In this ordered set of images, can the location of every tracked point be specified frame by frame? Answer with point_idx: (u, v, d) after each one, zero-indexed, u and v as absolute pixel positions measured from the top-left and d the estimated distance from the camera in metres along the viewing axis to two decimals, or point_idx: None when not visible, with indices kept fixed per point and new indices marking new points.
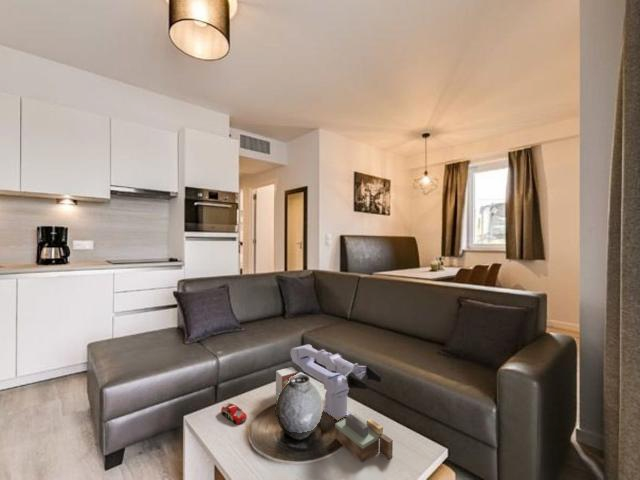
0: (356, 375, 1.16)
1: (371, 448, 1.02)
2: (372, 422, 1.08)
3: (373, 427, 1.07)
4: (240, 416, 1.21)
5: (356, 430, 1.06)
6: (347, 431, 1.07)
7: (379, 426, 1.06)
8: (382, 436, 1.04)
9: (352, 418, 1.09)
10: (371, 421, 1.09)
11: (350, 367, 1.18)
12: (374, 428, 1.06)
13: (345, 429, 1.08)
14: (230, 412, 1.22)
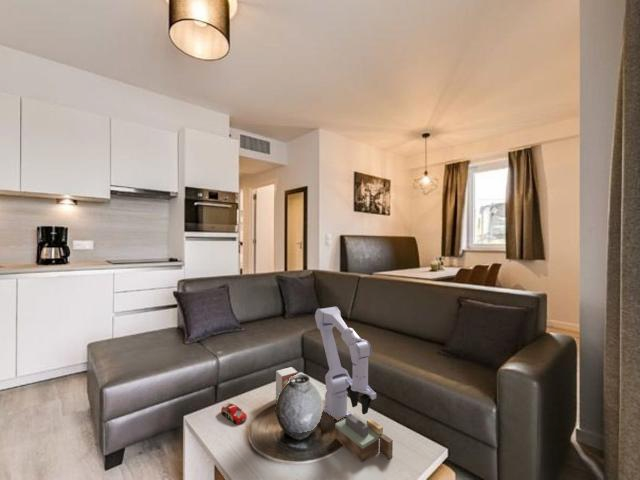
0: None
1: (371, 448, 1.02)
2: (372, 422, 1.08)
3: (373, 427, 1.07)
4: (240, 416, 1.20)
5: (356, 430, 1.06)
6: (347, 431, 1.07)
7: (379, 426, 1.06)
8: (382, 436, 1.04)
9: (352, 418, 1.09)
10: (371, 421, 1.09)
11: (352, 382, 1.13)
12: (374, 428, 1.06)
13: (345, 429, 1.08)
14: (230, 412, 1.22)
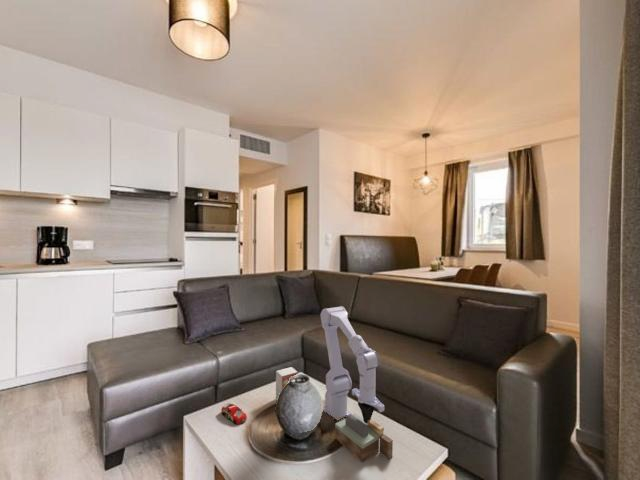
0: None
1: (371, 448, 1.02)
2: (373, 422, 1.08)
3: (374, 428, 1.07)
4: (241, 416, 1.20)
5: (356, 430, 1.06)
6: (347, 431, 1.07)
7: (380, 427, 1.06)
8: (382, 436, 1.04)
9: (352, 418, 1.09)
10: (371, 422, 1.08)
11: (359, 393, 1.10)
12: (375, 429, 1.06)
13: (345, 429, 1.08)
14: (230, 412, 1.22)
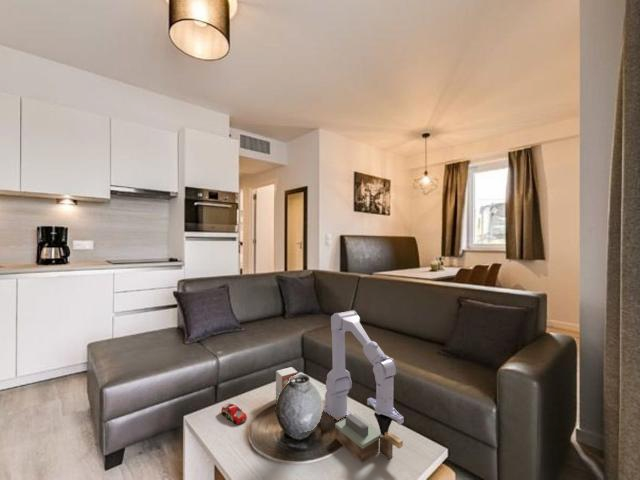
0: None
1: (371, 448, 1.02)
2: (391, 435, 1.01)
3: (392, 440, 1.00)
4: (241, 416, 1.20)
5: (356, 430, 1.06)
6: (347, 431, 1.07)
7: (399, 439, 0.99)
8: (382, 436, 1.04)
9: (352, 418, 1.09)
10: (389, 434, 1.02)
11: (376, 404, 1.03)
12: (393, 441, 1.00)
13: (345, 429, 1.08)
14: (230, 412, 1.22)
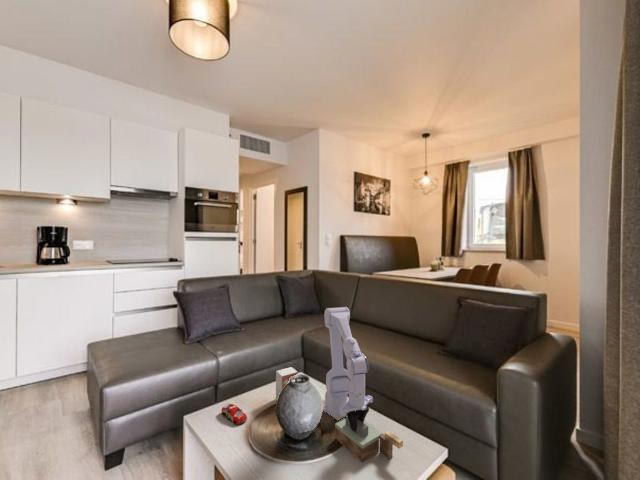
0: None
1: (371, 448, 1.02)
2: (391, 435, 1.01)
3: (392, 440, 1.00)
4: (241, 416, 1.20)
5: (356, 430, 1.06)
6: (347, 431, 1.07)
7: (399, 439, 0.99)
8: (382, 436, 1.04)
9: None
10: (389, 434, 1.02)
11: (358, 403, 1.05)
12: (393, 442, 1.00)
13: (345, 429, 1.08)
14: (230, 413, 1.22)
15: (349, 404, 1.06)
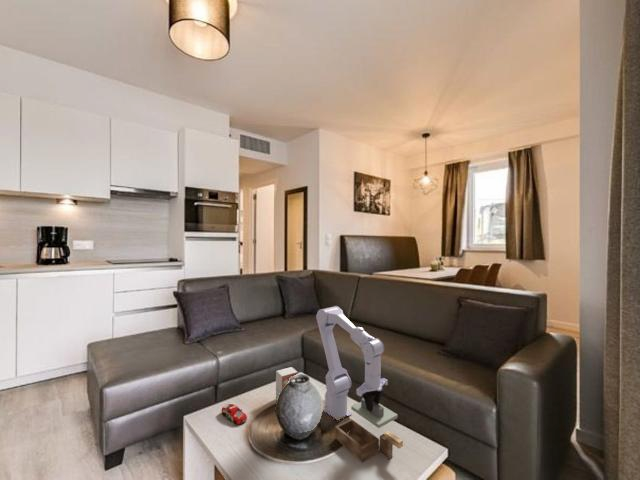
0: None
1: (371, 448, 1.02)
2: (391, 435, 1.01)
3: (392, 440, 1.00)
4: (241, 417, 1.20)
5: (372, 411, 1.11)
6: (363, 412, 1.11)
7: (399, 439, 0.99)
8: (382, 436, 1.04)
9: None
10: (389, 434, 1.02)
11: (374, 384, 1.09)
12: (393, 442, 1.00)
13: (361, 411, 1.13)
14: (230, 413, 1.22)
15: (365, 385, 1.11)
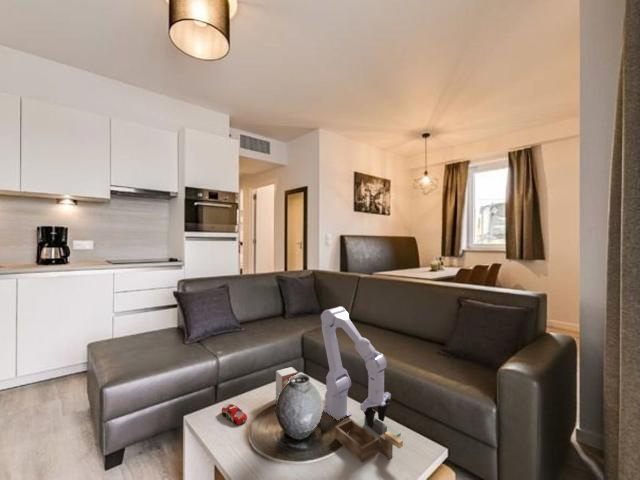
0: None
1: (371, 448, 1.02)
2: (391, 435, 1.01)
3: (392, 440, 1.00)
4: (241, 417, 1.20)
5: (375, 429, 1.12)
6: (367, 430, 1.13)
7: (399, 439, 0.99)
8: (382, 436, 1.04)
9: None
10: (389, 434, 1.02)
11: (378, 399, 1.11)
12: (393, 442, 1.00)
13: None
14: (230, 413, 1.21)
15: (369, 400, 1.12)
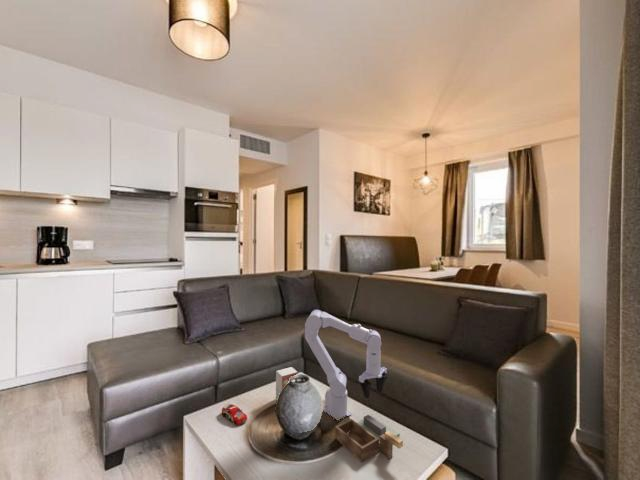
0: None
1: (371, 448, 1.02)
2: (391, 435, 1.01)
3: (392, 440, 1.00)
4: (241, 417, 1.20)
5: (374, 430, 1.12)
6: None
7: (399, 439, 0.99)
8: (382, 436, 1.04)
9: (370, 419, 1.15)
10: (389, 434, 1.02)
11: (375, 372, 1.21)
12: (393, 442, 1.00)
13: None
14: (230, 413, 1.21)
15: (367, 373, 1.23)
